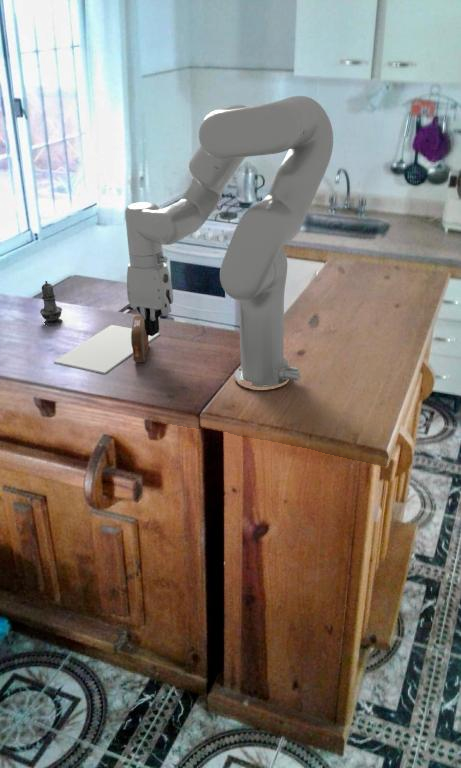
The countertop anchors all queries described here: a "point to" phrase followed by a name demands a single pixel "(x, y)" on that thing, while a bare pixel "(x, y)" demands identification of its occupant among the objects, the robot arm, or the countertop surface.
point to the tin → (139, 340)
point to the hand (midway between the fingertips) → (152, 333)
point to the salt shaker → (50, 306)
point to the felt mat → (102, 350)
